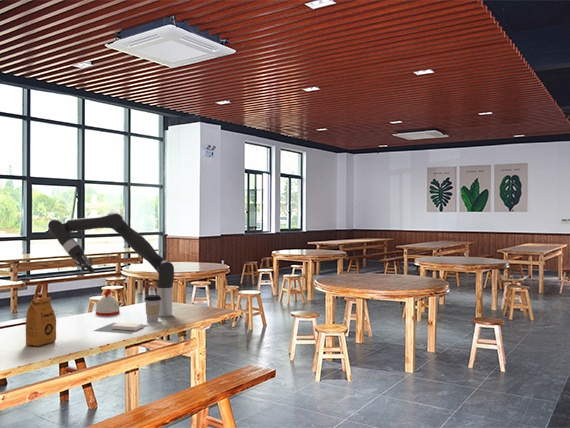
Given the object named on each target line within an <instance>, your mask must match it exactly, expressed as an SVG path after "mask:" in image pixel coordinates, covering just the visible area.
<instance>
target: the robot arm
mask: <svg viewBox="0 0 570 428" xmlns="http://www.w3.org/2000/svg"><path fill="white" fill-rule="evenodd" d="M47 227H48V233H49V234H50V235H51V236H54V237H56V238H57V241H58V243H59V244H60V246H62V247H61V248H63V249H64V251H65V252H66V253H67V255H68V256H69V257H70V258H71V260H75V261H74V264H76V265H77V266H79V267H80V268H82V269H86V270H87V271H88V272H89V273H90V274H94V273H95V271H96V270H95V269H94V268H93V259H92V257H88V256H87V255H86V254H85V249H84V248H82V246H81V245H80V244H79V242H78V241H76V240H75V238H73V236H72V235H71V234H70V233H73V232H82V231H87V230H88V231H89V230H95V229H112V230H113V231H115V233H117V234H118V235H120V236H121V237H122V239H123V240H124V242H126V244H127V245H128V246H129V247H130V248H131V249H132V250H133V251H134V253H136V254H137V255H139V256H140V257H141V258H142V259H143V260H145V261H147V263H149V264H150V266H152V267H153V268H154V270H155V272H156V273H157V274H158V281H157V284H156V287H157V288H156V289H157V290H156V293H157V294H156V295H159V296H160V297H161V300H160V310H159V318H160V317H164V318H165V317H171V316H172V315H173V291H174V290H173V288H174V287H173V286H174V281H175V279H174V278H175V267H174V265H173V263H172V262H171V261H167V260H166V259H164V257H162V256H161V255H159V254H158V253H157V251H156V250H155V249H154V247H153V246H152V245H151V243H150V242H149V241H148V240H147V239H146V238H145V237H144V236H142V235H141V234H140V233H139V232H138V231H136V230H135V229H133V228H132V227H131V226H130V225H128V224H127V223H126V222H125V220H124V218H123V216H122V214H120V213H119V212H115V211H114V212H109V213H108V214H107V215H104V216H98V217H82V218H72V219H68V220H67V221H65V222H64V223H62V221H61V220H59V219H54V218H53V219H51V220H49V222H48V224H47Z"/></svg>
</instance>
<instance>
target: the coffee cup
mask: <svg viewBox="0 0 570 428" xmlns="http://www.w3.org/2000/svg"><path fill="white" fill-rule="evenodd" d="M160 300H161V297H160V296H159V295H157V294H148V295H145V297H144V301H145V305H144V306H145V315H146V321H147V323H157V322H158V321H159V318H160V316H159V310H160Z"/></svg>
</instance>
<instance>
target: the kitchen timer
mask: <svg viewBox="0 0 570 428" xmlns="http://www.w3.org/2000/svg"><path fill="white" fill-rule="evenodd" d="M111 291H112V290H111V288H107V289H106V292H105V294H104V295H103V296H102V297H100V299H99V300H98V302H97V303H96V308H95V315H96V314H97V316H100V315H101V317H106V316H115V315H119V314H120V313H121V312H120V303H119V301H118V300H117V299H116V298H115V297H114V296H113V295H112V294H111Z"/></svg>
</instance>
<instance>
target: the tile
mask: <svg viewBox="0 0 570 428" xmlns="http://www.w3.org/2000/svg"><path fill="white" fill-rule="evenodd" d="M115 323H116V324H114V325H112V329H116V330H129V331H136V330H138V331H140V330H142V329H141V328H142V327H143V325H144V324H143V323H137V322H136V323H135V322H120V321H119V322H115ZM139 329H140V330H139ZM136 332H137V331H136Z"/></svg>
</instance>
